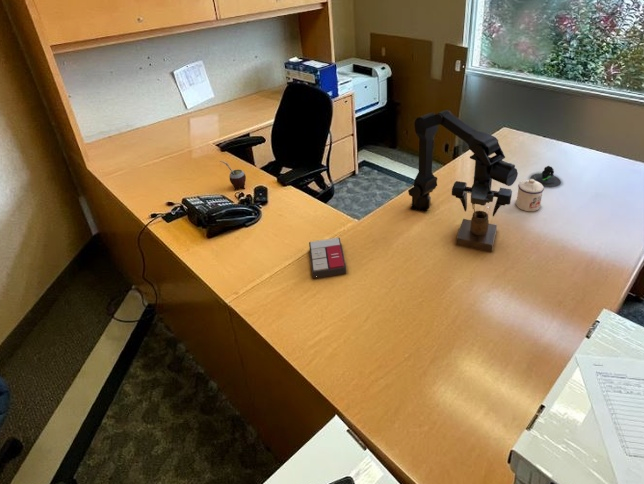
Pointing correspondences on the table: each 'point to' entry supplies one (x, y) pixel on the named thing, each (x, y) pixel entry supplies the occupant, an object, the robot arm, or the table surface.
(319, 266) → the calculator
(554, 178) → the dark grey hat
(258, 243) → the table surface
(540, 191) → the teacup with lid
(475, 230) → the utensil holder
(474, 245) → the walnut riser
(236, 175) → the mate gourd
